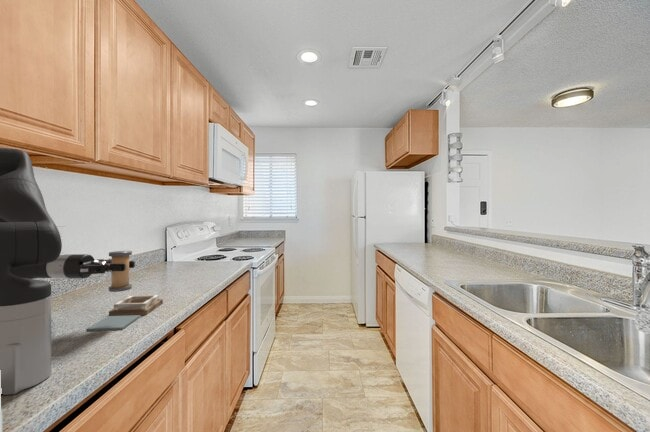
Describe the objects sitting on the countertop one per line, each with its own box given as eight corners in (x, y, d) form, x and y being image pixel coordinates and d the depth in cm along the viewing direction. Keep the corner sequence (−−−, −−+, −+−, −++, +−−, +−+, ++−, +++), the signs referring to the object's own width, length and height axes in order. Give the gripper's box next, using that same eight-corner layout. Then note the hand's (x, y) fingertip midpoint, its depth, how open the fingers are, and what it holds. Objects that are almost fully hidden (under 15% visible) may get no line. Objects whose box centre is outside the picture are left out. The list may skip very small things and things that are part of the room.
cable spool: (124, 291, 87) (125, 253, 87) (104, 292, 86) (104, 253, 86) (135, 286, 93) (135, 250, 93) (116, 286, 92) (116, 250, 92)
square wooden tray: (146, 314, 96) (146, 304, 96) (108, 315, 94) (108, 305, 94) (162, 303, 108) (162, 294, 107) (129, 304, 106) (129, 295, 106)
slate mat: (122, 329, 84) (123, 327, 84) (86, 330, 82) (86, 328, 82) (140, 316, 94) (140, 315, 94) (108, 317, 92) (108, 316, 92)
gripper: (52, 258, 81) (115, 257, 83) (88, 251, 95) (141, 251, 97) (52, 284, 81) (115, 282, 83) (88, 273, 95) (141, 272, 97)
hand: (129, 265), depth 90 cm, fingers closed on cable spool, 4 cm apart
